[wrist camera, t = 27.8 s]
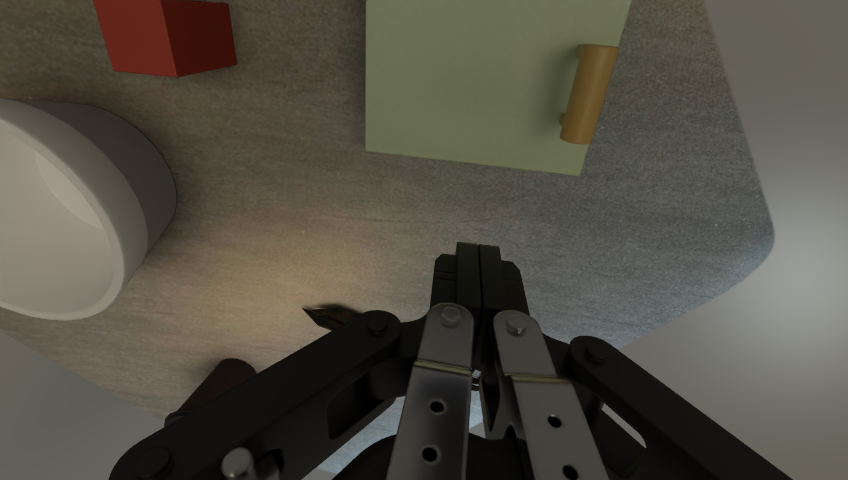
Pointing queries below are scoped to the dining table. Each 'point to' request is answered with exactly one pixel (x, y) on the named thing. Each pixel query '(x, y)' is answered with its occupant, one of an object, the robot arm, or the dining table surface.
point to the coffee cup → (214, 386)
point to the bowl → (75, 207)
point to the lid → (489, 79)
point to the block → (166, 36)
